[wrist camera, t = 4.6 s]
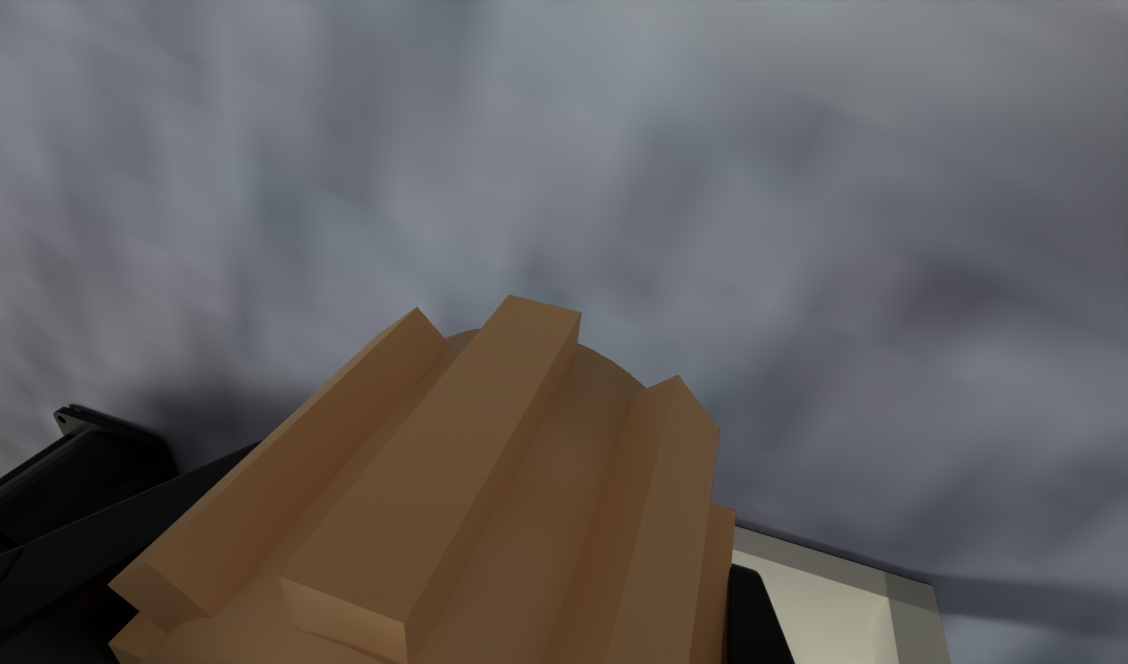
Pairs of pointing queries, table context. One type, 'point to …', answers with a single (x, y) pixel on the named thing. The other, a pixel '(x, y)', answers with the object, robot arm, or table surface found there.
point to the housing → (843, 606)
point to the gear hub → (454, 516)
